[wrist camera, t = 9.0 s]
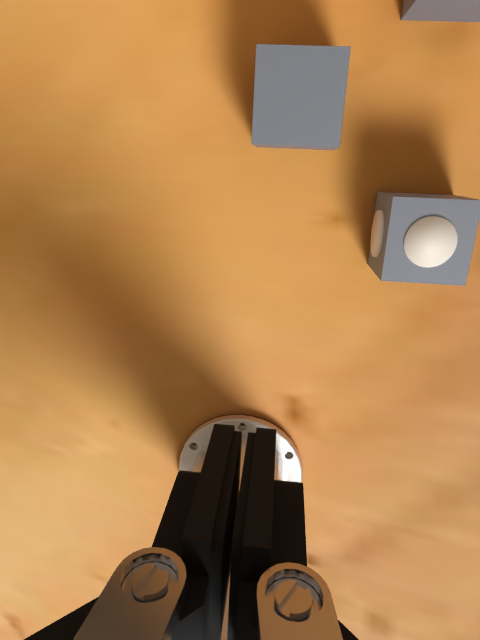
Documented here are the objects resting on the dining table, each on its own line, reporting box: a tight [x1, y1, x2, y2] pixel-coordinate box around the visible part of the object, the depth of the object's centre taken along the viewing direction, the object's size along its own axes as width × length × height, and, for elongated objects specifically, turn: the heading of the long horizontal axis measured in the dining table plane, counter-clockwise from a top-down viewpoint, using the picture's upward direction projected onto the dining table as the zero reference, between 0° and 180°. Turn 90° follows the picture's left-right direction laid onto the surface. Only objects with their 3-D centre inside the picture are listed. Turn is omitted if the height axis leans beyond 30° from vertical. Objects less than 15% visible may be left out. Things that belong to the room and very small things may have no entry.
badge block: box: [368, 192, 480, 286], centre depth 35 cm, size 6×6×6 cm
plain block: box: [251, 44, 351, 150], centre depth 33 cm, size 6×6×6 cm
